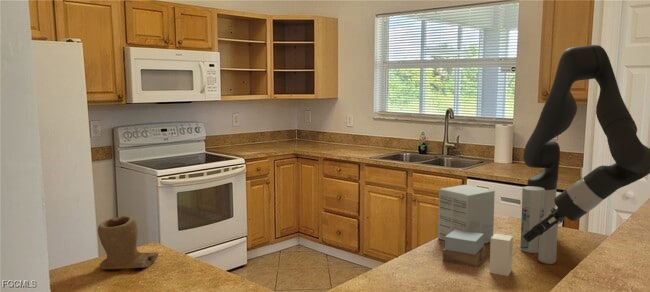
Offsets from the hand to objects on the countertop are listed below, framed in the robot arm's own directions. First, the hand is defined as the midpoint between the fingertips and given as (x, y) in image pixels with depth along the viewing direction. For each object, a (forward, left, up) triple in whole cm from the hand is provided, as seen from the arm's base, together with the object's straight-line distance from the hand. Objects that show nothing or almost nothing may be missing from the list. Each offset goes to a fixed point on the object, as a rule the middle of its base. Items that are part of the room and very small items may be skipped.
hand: (530, 235), depth 137 cm
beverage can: (-16, +3, -12) cm, 20 cm away
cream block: (-1, -7, -12) cm, 14 cm away
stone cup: (+51, -101, -12) cm, 114 cm away
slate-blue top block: (-5, -19, -8) cm, 22 cm away
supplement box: (-25, -24, -12) cm, 37 cm away
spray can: (-25, -3, -12) cm, 28 cm away
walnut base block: (-5, -19, -12) cm, 23 cm away
